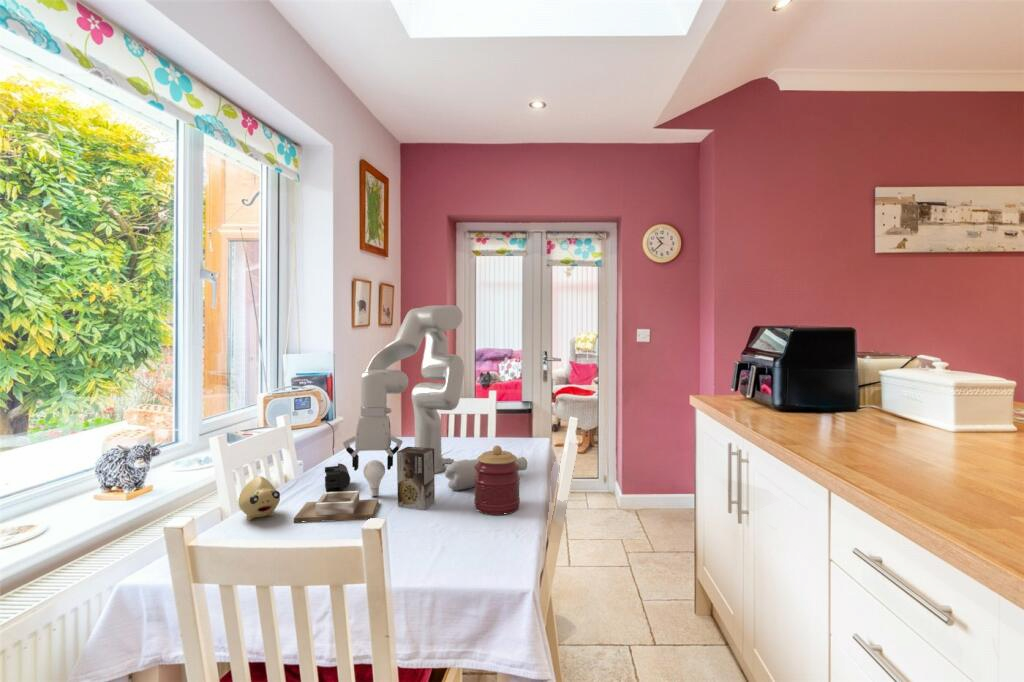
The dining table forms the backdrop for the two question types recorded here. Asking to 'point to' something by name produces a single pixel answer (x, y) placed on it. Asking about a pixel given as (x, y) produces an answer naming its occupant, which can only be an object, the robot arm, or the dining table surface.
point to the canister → (497, 482)
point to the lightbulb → (374, 475)
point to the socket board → (338, 507)
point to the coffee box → (415, 477)
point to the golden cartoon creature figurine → (258, 498)
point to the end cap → (336, 478)
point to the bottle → (468, 473)
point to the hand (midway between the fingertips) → (372, 469)
